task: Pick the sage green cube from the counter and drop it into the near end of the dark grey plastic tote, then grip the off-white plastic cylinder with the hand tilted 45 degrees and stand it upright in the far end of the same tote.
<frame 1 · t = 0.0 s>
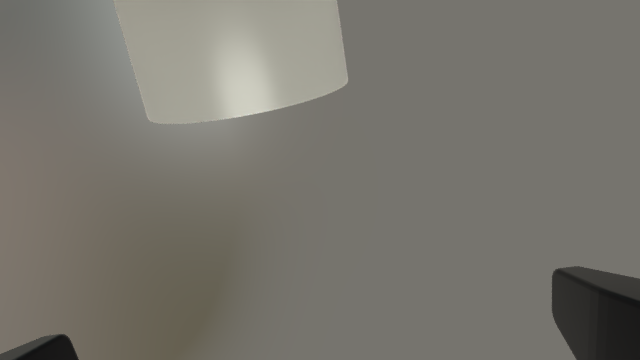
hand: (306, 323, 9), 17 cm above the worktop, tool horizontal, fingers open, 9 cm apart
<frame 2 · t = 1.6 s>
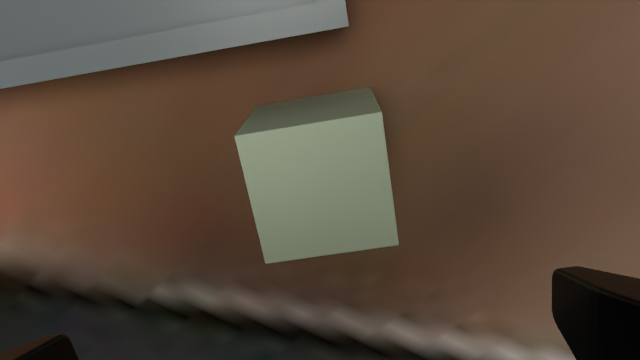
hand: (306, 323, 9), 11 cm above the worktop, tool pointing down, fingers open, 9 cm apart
green cube: (322, 150, 19), on the worktop
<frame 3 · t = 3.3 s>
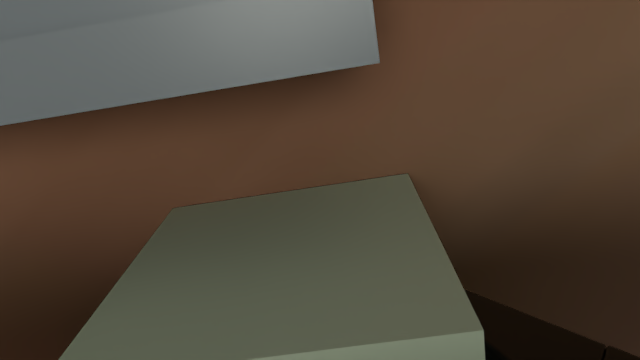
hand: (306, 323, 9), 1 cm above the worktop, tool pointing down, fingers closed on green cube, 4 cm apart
green cube: (308, 292, 10), on the worktop, touching gripper
when the fingers open (4 cm above the worktop, at t = 6.9 s): green cube drops 2 cm, resting on tote.
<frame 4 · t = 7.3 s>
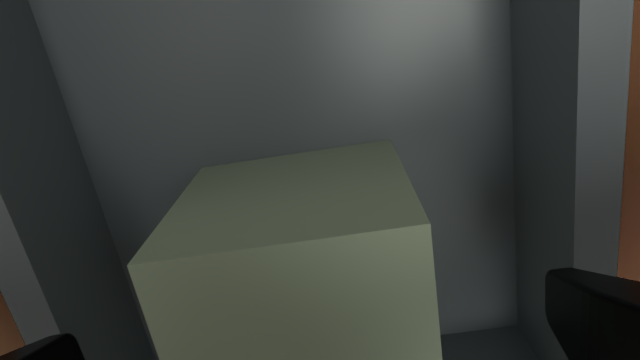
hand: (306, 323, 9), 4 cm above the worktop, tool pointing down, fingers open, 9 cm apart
tote: (284, 72, 11), on the worktop
green cube: (310, 238, 12), point 1 cm above the worktop, touching tote
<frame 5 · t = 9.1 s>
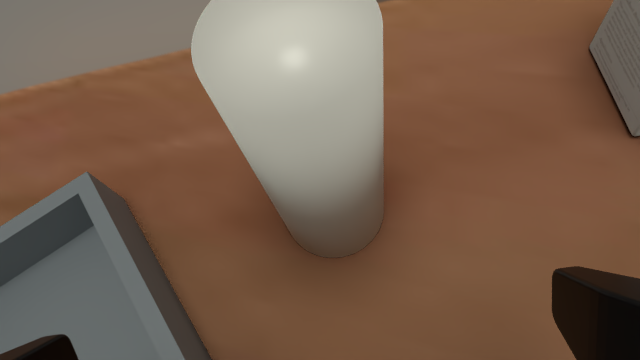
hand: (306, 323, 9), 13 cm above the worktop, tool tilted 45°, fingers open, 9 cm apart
white cylinder: (334, 209, 24), on the worktop
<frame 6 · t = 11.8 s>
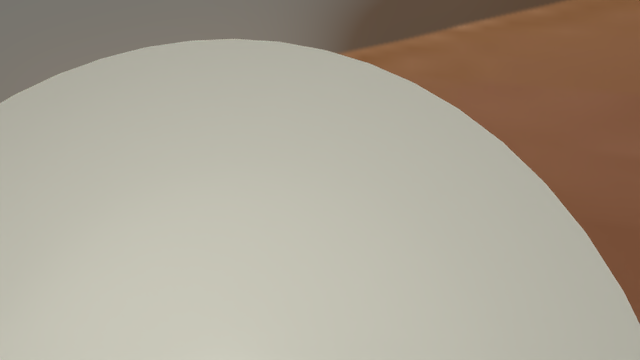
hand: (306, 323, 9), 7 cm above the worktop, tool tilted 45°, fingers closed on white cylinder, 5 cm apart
when the fingers open (9 cm above the worktop, at t = 16.3 s): white cylinder drops 1 cm, resting on tote.
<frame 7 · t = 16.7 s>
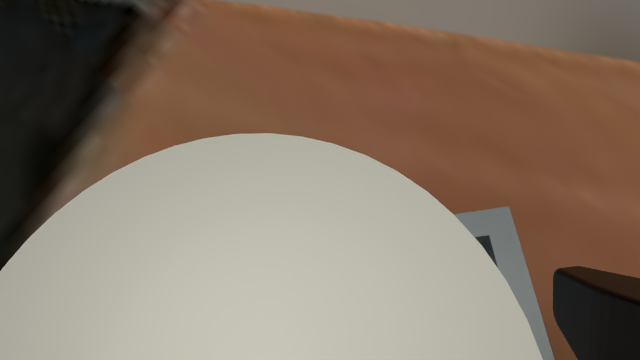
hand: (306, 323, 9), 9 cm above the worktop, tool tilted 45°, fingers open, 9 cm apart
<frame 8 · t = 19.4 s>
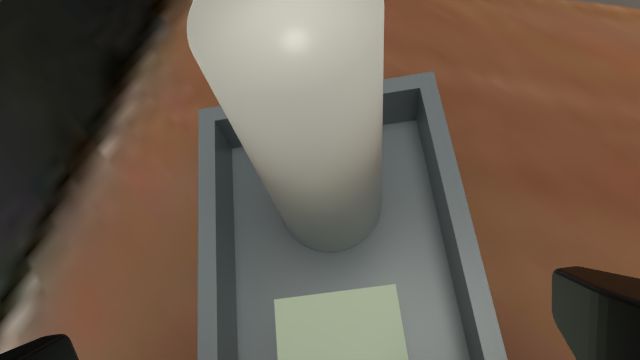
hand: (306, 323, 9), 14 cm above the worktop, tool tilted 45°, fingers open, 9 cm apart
white cylinder: (331, 203, 24), point 1 cm above the worktop, touching tote
tote: (341, 274, 23), on the worktop
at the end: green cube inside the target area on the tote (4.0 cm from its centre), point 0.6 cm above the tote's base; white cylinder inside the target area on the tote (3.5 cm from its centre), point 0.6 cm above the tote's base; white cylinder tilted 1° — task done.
